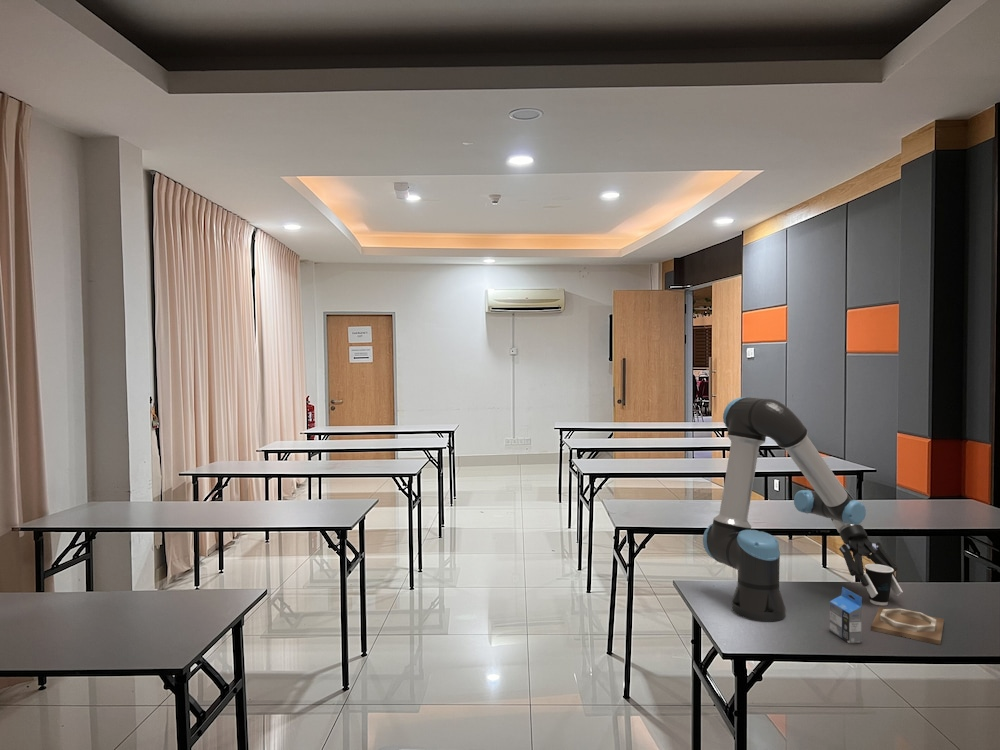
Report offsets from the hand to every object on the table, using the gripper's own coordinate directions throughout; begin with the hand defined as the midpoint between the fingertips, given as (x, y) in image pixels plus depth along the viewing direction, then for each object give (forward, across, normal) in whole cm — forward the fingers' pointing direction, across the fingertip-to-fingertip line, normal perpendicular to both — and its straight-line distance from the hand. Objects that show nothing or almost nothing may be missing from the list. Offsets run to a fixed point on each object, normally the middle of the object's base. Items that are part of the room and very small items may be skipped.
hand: (887, 594), depth 196 cm
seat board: (+13, +6, +7) cm, 16 cm away
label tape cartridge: (+15, +28, +9) cm, 33 cm away
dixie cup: (0, 0, -5) cm, 5 cm away
